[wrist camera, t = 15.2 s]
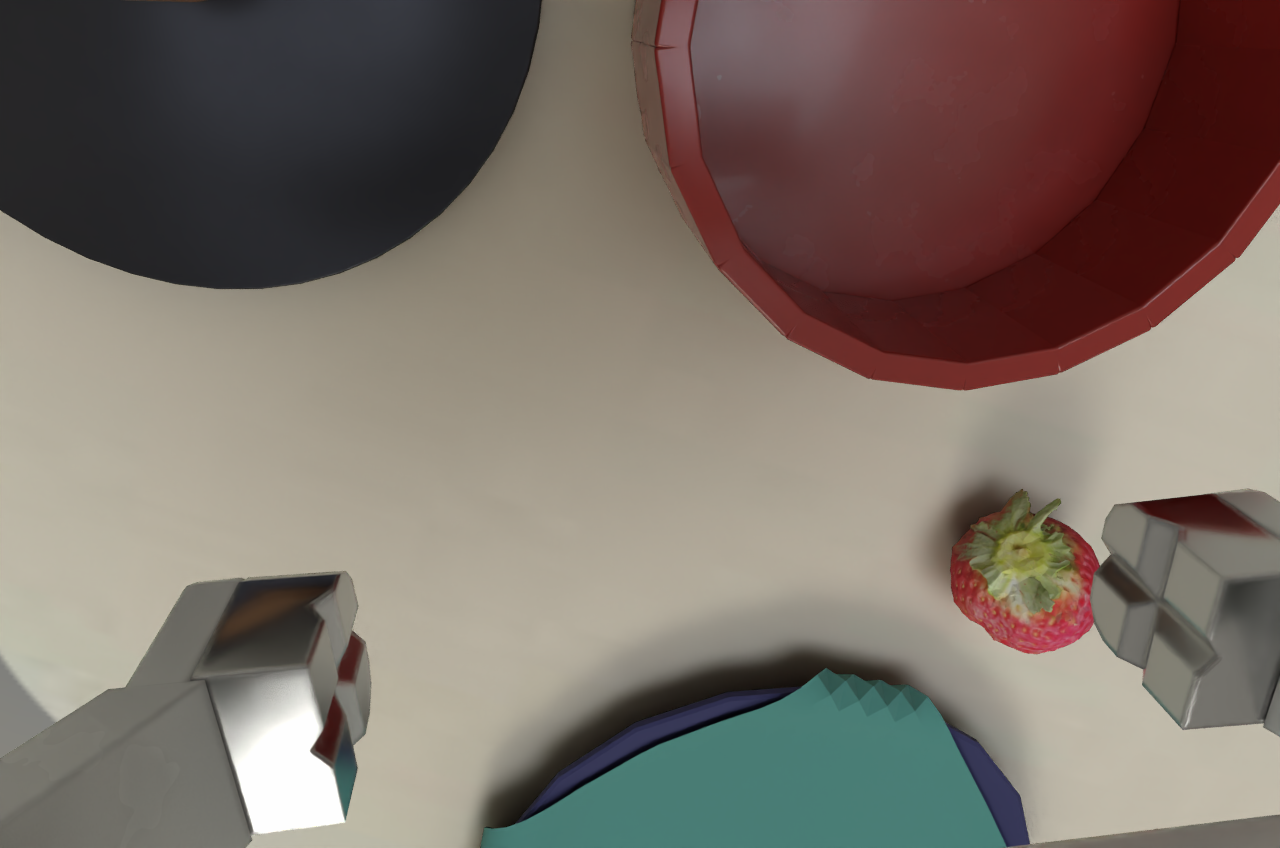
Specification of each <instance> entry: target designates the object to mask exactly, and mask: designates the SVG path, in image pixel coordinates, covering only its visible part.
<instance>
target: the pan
mask: <svg viewBox="0 0 1280 848" xmlns="http://www.w3.org/2000/svg"><path fill="white" fill-rule="evenodd" d="M631 38H632V40H633V41H631V47H632V54H633V61H634V71H635V80H636V90H637V98H638V103H639V107H640V111H641V118H642V125H643V132H644V136H645V141H646V143H647V145H648V147H649V149H650V151H651V153H652V155H653V158H654V160H655V162H656V164H657V166H658V169H659V171H660V173H661V175H662V177H663V179H664V181H665V183H666V185H667V187H668V189H669V191H670V193H671V195H672V197H673V200H674V202H675V204H676V206H677V208H678V210H679V212H680V214H681V216H682V218H683V220H684V221H685V223H686V224H687V225H688V227H689V228H690V230H691V231H692V233H693V234H694V236H695V237H696V238H697V240H698V241H699V243H700V244H701V246H702V247H703V249H704V250H705V251H706V253H707V254H708V256H709V257H710V259H711V260H712V261H713V263H714V264H715V265H716V267H717V268H718V270H719V271H720V272H721V273H722V274H723V275H724V276H725V277H726V278H727V279H728V280H729V281H730V282H731V283H732V284H733V285H734V286H735V287H736V288H737V289H738V290H739V291H740V292H741V293H742V294H743V295H744V296H745V297H746V298H747V299H748V300H749V302H750V303H751V304H752V305H753V306H754V307H755V308H756V309H757V310H758V311H759V312H760V313H761V314H762V315H763V316H764V317H765V318H766V319H767V320H768V321H769V322H770V323H771V324H772V325H773V326H774V327H775V328H776V329H777V330H778V331H779V332H780V333H781V334H782V335H783V336H785V337H786V338H787V339H788V340H790V341H792V342H794V343H796V344H798V345H800V346H802V347H804V348H806V349H808V350H810V351H812V352H814V353H817V354H819V355H821V356H823V357H825V358H827V359H829V360H831V361H833V362H835V363H837V364H839V365H841V366H843V367H845V368H847V369H849V370H851V371H853V372H855V373H857V374H859V375H861V376H864V377H866V378H868V379H870V378H871V379H873V380H881V381H889V382H897V383H905V384H913V385H920V386H928V387H936V388H944V389H952V390H962V389H963V390H971V389H977V388H983V387H988V386H994V385H999V384H1005V383H1011V382H1016V381H1022V380H1027V379H1033V378H1039V377H1044V376H1050V375H1056V374H1058V372H1064V371H1066V370H1068V369H1070V368H1072V367H1074V366H1076V365H1078V364H1080V363H1082V362H1085V361H1087V360H1089V359H1091V358H1093V357H1095V356H1097V355H1099V354H1101V353H1103V352H1105V351H1108V350H1110V349H1112V348H1114V347H1116V346H1118V345H1120V344H1122V343H1124V342H1126V341H1128V340H1131V339H1133V338H1135V337H1137V336H1139V335H1141V334H1143V333H1145V332H1147V331H1149V330H1150V329H1151V327H1155V326H1157V325H1158V324H1159V323H1160V322H1161V321H1163V320H1164V319H1165V318H1166V317H1167V316H1169V315H1170V314H1171V313H1172V312H1173V311H1175V310H1176V309H1177V308H1178V307H1180V306H1181V305H1182V304H1183V303H1184V302H1186V301H1187V300H1188V299H1189V298H1190V297H1192V296H1193V295H1194V294H1195V293H1196V292H1198V291H1199V290H1200V289H1201V288H1203V287H1204V286H1205V285H1206V284H1207V283H1209V282H1210V281H1211V280H1212V279H1213V278H1215V277H1216V276H1217V275H1218V274H1219V273H1221V272H1222V271H1223V270H1224V269H1225V268H1227V267H1228V266H1229V265H1230V264H1232V263H1233V262H1234V261H1235V259H1236V258H1239V257H1240V256H1241V254H1242V253H1243V252H1244V250H1245V249H1246V248H1247V246H1248V245H1249V244H1250V242H1251V241H1252V240H1253V239H1254V237H1255V236H1256V235H1257V233H1258V232H1259V231H1260V229H1261V228H1262V227H1263V225H1264V224H1265V223H1266V221H1267V220H1268V219H1269V217H1270V216H1271V215H1272V213H1273V212H1274V211H1275V209H1276V208H1277V207H1278V206H1279V204H1280V0H636V2H635V9H634V21H633V28H632V35H631Z"/></svg>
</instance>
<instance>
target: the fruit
mask: <svg viewBox="0 0 1280 848" xmlns="http://www.w3.org/2000/svg"><path fill="white" fill-rule="evenodd" d="M1027 494H1028V493H1027V492H1026V491H1023V489H1021V490H1020V491H1019V492H1016V494H1015V495H1013V496H1012V497H1011V498H1010V500H1009V501H1008V502H1007V503H1006V505H1005V506H1004V507H1003V509H1002V510H1001V511H1000V512H995V513H993V514H989V515H988V516H986V517H979V521H978V522H977V523H976V524H972V525H970V528H971V529H969V530H968V531H967V532H966V533H965V534H964V535H963V536H962V537H961V539H960V540H959V541H958V543H957V544H955V545H954V546H953V547H952V557H951V567H950V572H951V589H952V594H953V597H954V602H955V603H956V605H957V606H958V607H959V608H960V610H961V612H962V613H963V614H964V615H966V616H967V617H968V618H969V619H970V620H971V621H974V622H976V623H978V624H980V625H981V626H983V627H984V628H985V630H986V631H987V632H988V633H989V634H990V635H991V636H992V638H993V640H996V641H998V642H1000V643H1003V644H1005V645H1007V646H1009V647H1011V648H1014V649H1016V650H1019V651H1022V652H1024V653H1028V654H1030V653H1031V654H1040V653H1043V652H1047V651H1055V650H1056V649H1059V648H1061V647H1064V646H1067V645H1069V644H1071V643H1074V642H1075V641H1076V640H1078V639H1080V638H1081V637H1082V635H1083V634H1085V633H1086V632H1088V631H1089V630H1090V628H1091V627H1092V625H1093V623H1094V619H1093V614H1092V608H1091V603H1090V594H1091V588H1092V582H1093V576H1094V572H1095V571H1096V570H1097V569H1098V568H1099V567H1100V565H1099V562H1098V560H1097V558H1096V556H1095V553H1094V551H1093V549H1092V547H1091V546H1090V545H1089V544H1088V543H1087V542H1086V541H1084V539H1083V538H1082V537H1081V536H1080V535H1079V534H1078V533H1077V532H1076V531H1074V530H1073V529H1071V528H1070V527H1069V526H1067V525H1065V524H1063V523H1061V522H1059V521H1057V520H1055V519H1052V518H1049V517H1048V516H1049V514H1050V513H1052V511H1053V510H1057V507H1058V506H1059V505H1060V504H1061V500H1060V499H1056V500H1054V501H1053V502H1051V503H1050V504H1048V505H1046V506H1045V507H1044V508H1043V509H1042V510H1040V511H1039V512H1038V513H1036V514H1032V513H1030V507H1031V504H1030V502H1029V497H1027Z"/></svg>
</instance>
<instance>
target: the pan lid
mask: <svg viewBox="0 0 1280 848" xmlns="http://www.w3.org/2000/svg"><path fill="white" fill-rule="evenodd" d="M541 3H542V0H0V210H1V211H2V212H4V213H6V214H7V215H9V216H10V217H12V218H14V219H15V220H17V221H19V222H20V223H22V224H23V225H25V226H27V227H28V228H30V229H32V230H33V231H35V232H37V233H38V234H40V235H41V236H43V237H45V238H47V239H49V240H51V241H53V242H55V243H57V244H59V245H61V246H63V247H66V248H68V249H70V250H72V251H74V252H76V253H78V254H80V255H82V256H84V257H86V258H89V259H91V260H94V261H97V262H100V263H103V264H106V265H108V266H111V267H114V268H117V269H120V270H123V271H125V272H128V273H131V274H135V275H139V276H143V277H147V278H152V279H156V280H160V281H165V282H169V283H173V284H179V285H188V286H196V287H205V288H214V289H264V288H272V287H279V286H287V285H294V284H302V283H305V282H309V281H313V280H317V279H320V278H324V277H328V276H332V275H335V274H339V273H342V272H344V271H347V270H349V269H352V268H354V267H356V266H359V265H361V264H364V263H366V262H368V261H371V260H373V259H376V258H378V257H379V256H381V255H383V254H384V253H386V252H388V251H389V250H391V249H393V248H395V247H396V246H398V245H400V244H401V243H403V242H405V241H406V240H408V239H410V238H411V237H413V236H414V235H415V234H416V233H418V232H419V231H420V230H421V229H423V228H424V227H425V226H426V225H428V224H429V223H430V222H431V221H433V220H434V219H435V218H436V217H438V216H439V215H440V214H441V213H443V212H444V210H445V209H446V208H447V207H448V206H449V205H450V204H451V203H452V202H453V201H454V200H455V199H456V198H457V197H458V196H459V195H460V194H461V192H462V191H463V190H464V189H465V188H466V187H467V186H468V185H469V184H470V183H471V181H472V180H473V179H474V177H475V176H476V174H477V173H478V172H479V170H480V169H481V167H482V166H483V165H484V163H485V162H486V160H487V159H488V158H489V156H490V155H491V153H492V152H493V150H494V149H495V147H496V145H497V143H498V141H499V139H500V137H501V135H502V134H503V132H504V130H505V128H506V126H507V124H508V122H509V120H510V118H511V116H512V114H513V113H514V110H515V107H516V105H517V102H518V99H519V96H520V94H521V91H522V88H523V85H524V83H525V80H526V77H527V75H528V72H529V68H530V64H531V59H532V55H533V51H534V46H535V42H536V38H537V33H538V29H539V23H540V13H541Z"/></svg>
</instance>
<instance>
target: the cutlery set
mask: <svg viewBox="0 0 1280 848" xmlns="http://www.w3.org/2000/svg"><path fill="white" fill-rule="evenodd" d="M1029 844H1030V842H1029V837H1028V832H1027V827H1026V822H1025V817H1024V812H1023V807H1022V803H1021V798H1020V795H1019V794H1018V792H1017V791H1016V790H1015V789H1014V787H1013V786H1012V785H1011V783H1010V782H1009V781H1008V780H1007V778H1006V777H1005V776H1004V774H1003V773H1002V772H1001V771H1000V769H999V768H998V767H997V765H996V764H995V763H994V762H993V760H992V759H991V758H990V756H989V755H988V754H987V753H986V751H985V750H984V749H983V747H982V746H981V745H980V744H979V743H978V742H977V740H976V739H974V738H973V737H971V736H969V735H967V734H966V733H964V732H962V731H960V730H958V729H957V728H955V727H953V726H951V725H950V724H948V723H946V722H944V720H943V718H942V716H941V714H940V713H939V711H938V710H937V709H936V707H935V706H934V704H933V703H932V702H931V700H930V699H929V697H928V696H926V695H924V694H923V693H921V692H919V691H918V690H916V689H914V688H913V687H911V686H909V685H889V684H887V683H885V682H884V681H882V680H870V681H864V680H862V679H861V678H859V677H857V676H856V675H854V674H835V673H833V672H832V671H830V670H829V669H827V668H825V669H824V670H823V671H821V672H820V673H819V674H817V675H816V676H815V677H814V678H812V679H811V680H810V681H809V682H807V683H806V684H805V685H804V686H802V687H788V688H774V689H761V690H747V691H733V692H726V693H723V694H720V695H717V696H714V697H711V698H708V699H705V700H702V701H699V702H696V703H692V704H689V705H686V706H683V707H680V708H677V709H674V710H671V711H668V712H665V713H662V714H659V715H656V716H653V717H650V718H647V719H644V720H641V721H638V722H635V723H634V724H632V725H630V726H629V727H627V728H626V729H624V730H623V731H621V732H620V733H618V734H617V735H615V736H613V737H612V738H610V739H609V740H607V741H606V742H604V743H603V744H601V745H600V746H598V747H596V748H595V749H593V750H592V751H590V752H589V753H587V754H586V755H584V756H583V757H581V758H579V759H578V760H576V761H575V762H573V763H572V764H570V765H569V766H567V767H566V768H564V769H562V770H561V771H559V772H558V773H557V775H556V776H555V777H554V778H553V779H552V780H551V782H550V783H549V784H548V785H547V786H546V788H545V789H544V790H543V791H542V792H541V794H540V795H539V796H538V797H537V798H536V799H535V801H534V802H533V803H532V804H531V805H530V807H529V808H528V809H527V810H526V811H525V813H524V814H523V815H522V816H521V817H520V818H519V820H518V821H517V822H516V823H515V824H514V825H512V826H509V827H504V828H495V829H494V828H491V827H487V826H486V827H484V831H483V836H482V841H481V846H480V848H1004V847H1012V846H1020V845H1029Z"/></svg>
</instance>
